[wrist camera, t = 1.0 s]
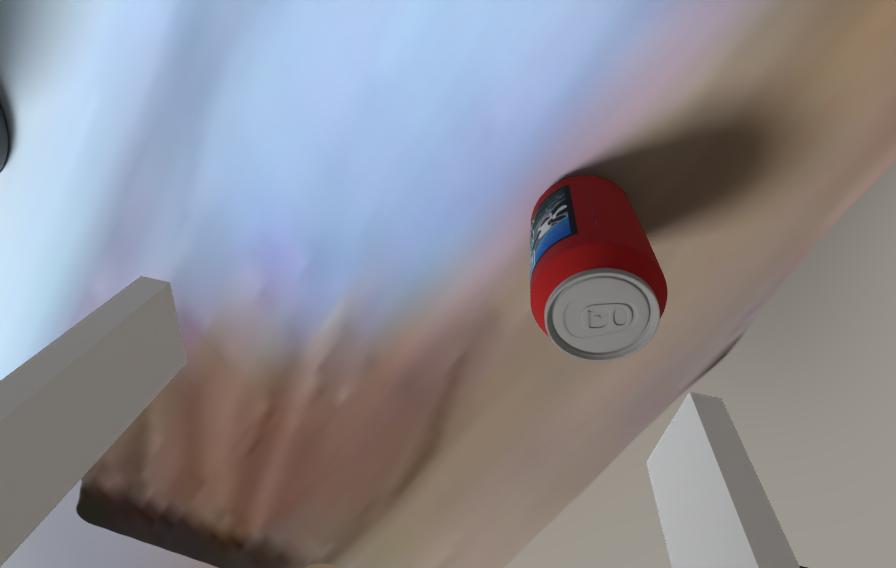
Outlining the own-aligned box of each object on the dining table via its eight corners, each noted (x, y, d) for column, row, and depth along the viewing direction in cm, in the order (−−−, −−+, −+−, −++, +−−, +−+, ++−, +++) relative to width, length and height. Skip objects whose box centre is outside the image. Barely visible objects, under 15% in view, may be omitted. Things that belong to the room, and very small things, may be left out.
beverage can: (525, 177, 32) (522, 266, 22) (631, 163, 30) (681, 251, 20) (535, 264, 35) (536, 375, 25) (630, 255, 33) (673, 369, 23)
